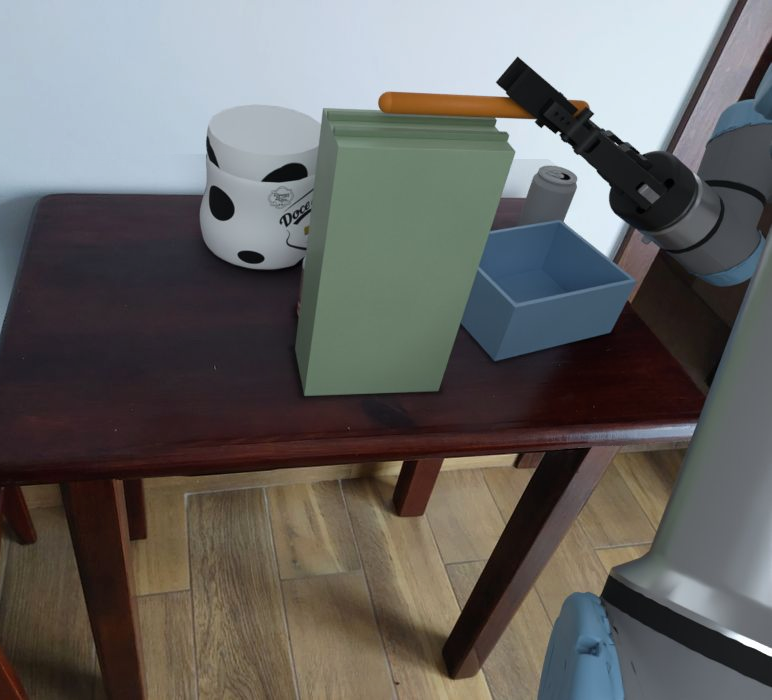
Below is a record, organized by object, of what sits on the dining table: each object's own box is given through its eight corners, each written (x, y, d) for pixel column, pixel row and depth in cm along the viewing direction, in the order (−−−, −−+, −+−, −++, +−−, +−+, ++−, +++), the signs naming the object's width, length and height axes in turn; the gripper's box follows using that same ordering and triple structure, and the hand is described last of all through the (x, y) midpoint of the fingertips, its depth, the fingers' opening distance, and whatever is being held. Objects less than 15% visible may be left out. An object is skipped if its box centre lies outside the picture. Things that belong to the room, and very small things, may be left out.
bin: (610, 332, 91) (637, 281, 85) (494, 361, 84) (515, 307, 79) (540, 269, 101) (560, 219, 95) (431, 290, 94) (446, 238, 89)
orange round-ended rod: (580, 116, 63) (587, 97, 62) (588, 124, 62) (596, 105, 61) (374, 108, 60) (378, 87, 59) (378, 116, 59) (382, 95, 57)
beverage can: (550, 259, 104) (579, 188, 96) (509, 247, 105) (533, 177, 97) (554, 239, 108) (581, 170, 100) (514, 228, 109) (538, 159, 101)
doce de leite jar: (328, 282, 93) (346, 161, 81) (201, 282, 90) (200, 157, 78) (310, 216, 106) (323, 103, 94) (198, 215, 103) (197, 98, 91)
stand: (420, 346, 85) (487, 107, 65) (438, 391, 79) (518, 145, 59) (294, 349, 82) (323, 101, 62) (304, 396, 76) (339, 139, 56)
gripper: (669, 267, 67) (513, 148, 55) (600, 192, 77) (457, 80, 66) (737, 209, 63) (584, 70, 52) (654, 139, 74) (513, 11, 63)
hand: (513, 76), depth 59 cm, fingers closed on orange round-ended rod, 2 cm apart
